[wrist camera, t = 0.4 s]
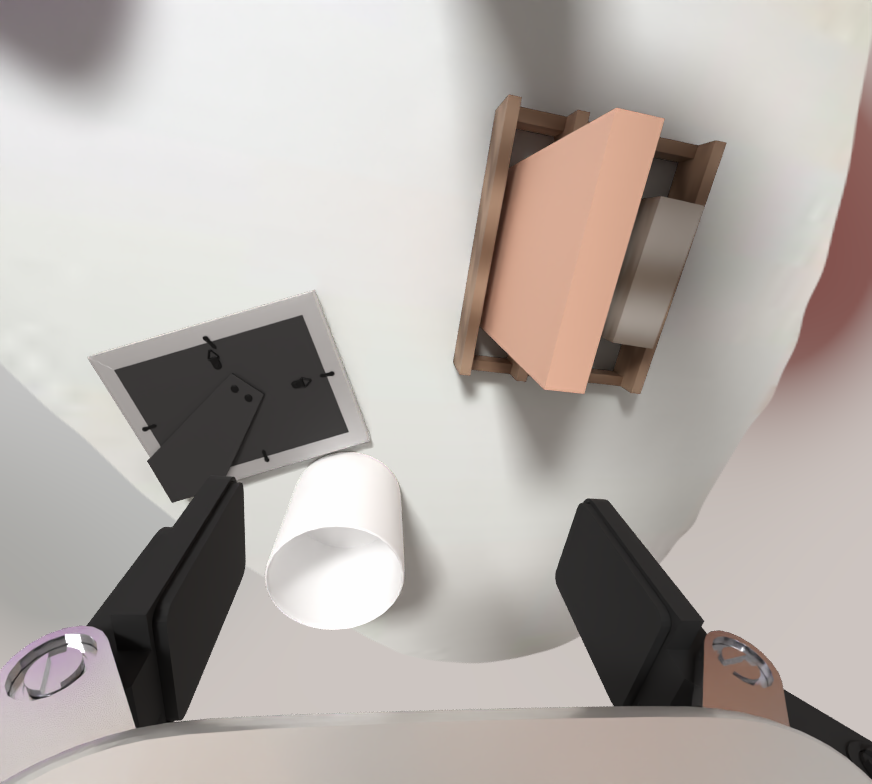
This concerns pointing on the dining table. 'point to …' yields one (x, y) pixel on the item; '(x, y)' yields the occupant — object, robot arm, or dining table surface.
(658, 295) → the grey offcut
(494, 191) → the offcut rack
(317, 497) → the cup
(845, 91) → the dining table surface
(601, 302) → the plywood sheet
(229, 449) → the picture frame
